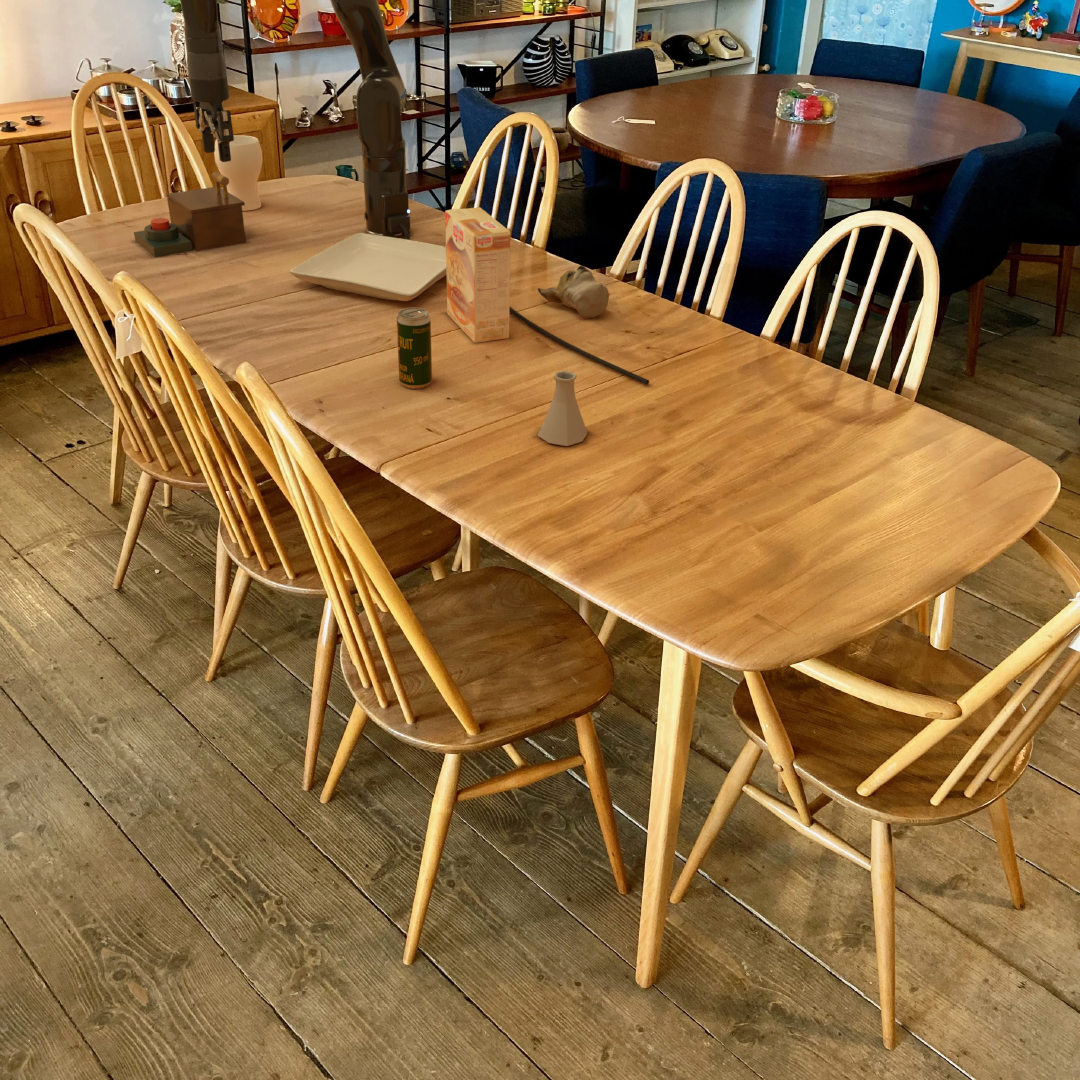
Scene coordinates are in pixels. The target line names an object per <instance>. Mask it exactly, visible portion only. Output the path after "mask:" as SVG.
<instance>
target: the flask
mask: <svg viewBox="0 0 1080 1080" xmlns="http://www.w3.org/2000/svg"><path fill="white" fill-rule="evenodd" d="M577 376H578V375H577V374H576V373H574V372H573V371H569V370H560V371H556V372H555V373H554V375H553V379H554V380H555V387H554V392H553V397H552V400H551V403H550V405H549V408H548V411H547V413H546V414H545V417H544V420H543V421H542V424H541V426H540V429H539V431H538V433H537V437H539V438H540V439H542V440H544V441H545V442H547V443H548V444H554V445H557V446H565V447H570V446H572V445H575V444H578V443H582V442H583V441H584V440H585V438H586V436H587V435H588V430H587V428H586V424H585V422H584V419H583V416H582V413H581V410H580V408H579V405H578V401H577V398H576V392H575V381H576V379H577Z"/></svg>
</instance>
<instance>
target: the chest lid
mask: <svg viewBox="0 0 1080 1080" xmlns="http://www.w3.org/2000/svg"><path fill="white" fill-rule="evenodd" d="M211 178H212V180H213V181H214V182H215V186H212V187H205V188H197V189H191V190H183V191H178V192H177V191H176V192H171V193H166V198H167V197H168V198H169V199H171V200H172V201H174V202H175V203H177V204H178V205H179V206H181V207H182V208H184V209H185V210H187V211H188V212H190V213H191V214H192V213H199V212H205V211H211V210H218V209H224V208H231V207H237V206H243V205H245V203H244V202H243V201H242V200H240V199H238V198H237V197H235V196H233V195H232V194H230V193H229V192H228V190H227V185H228V184H229V179H228V178H227V177H225V176H223V175H222V174H221V173H220V172H219V171H214V172H212V173H211ZM221 185H222V187H221Z"/></svg>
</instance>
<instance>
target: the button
mask: <svg viewBox="0 0 1080 1080" xmlns="http://www.w3.org/2000/svg"><path fill="white" fill-rule="evenodd" d="M169 223H170V219H168V218H165V217H157V218H152V219H151V220H150V224H151V226H152V230H167V229H170V225H169Z"/></svg>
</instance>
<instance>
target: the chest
mask: <svg viewBox="0 0 1080 1080" xmlns="http://www.w3.org/2000/svg"><path fill="white" fill-rule="evenodd" d="M166 199H167V206H168V212H169V221H170V223H172V224H175V225H177V227H178V232H179V233H180V234H182V235H183V236H184V237H186V238H187V239H189V240H190V241H191V243H192V250H194V251H196V252H200V251H206V250H207V251H208V250H213V249H218V248H225V247H229V246H234V245H235V246H236V245H241V244H246V243H247V240H246V232H245V223H244V214H243V213H244V212H243V211H242V206H237V207H231V208H224V209H218V210H211V211H205V212H199V213H192V214H191V213H190V212H188V211H187V210H185V209H184V208H182V207H181V206H179V205H178V204H177V203H175V202H174V201H172V200H171V199H169V198H168V197H167V196H166Z"/></svg>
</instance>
